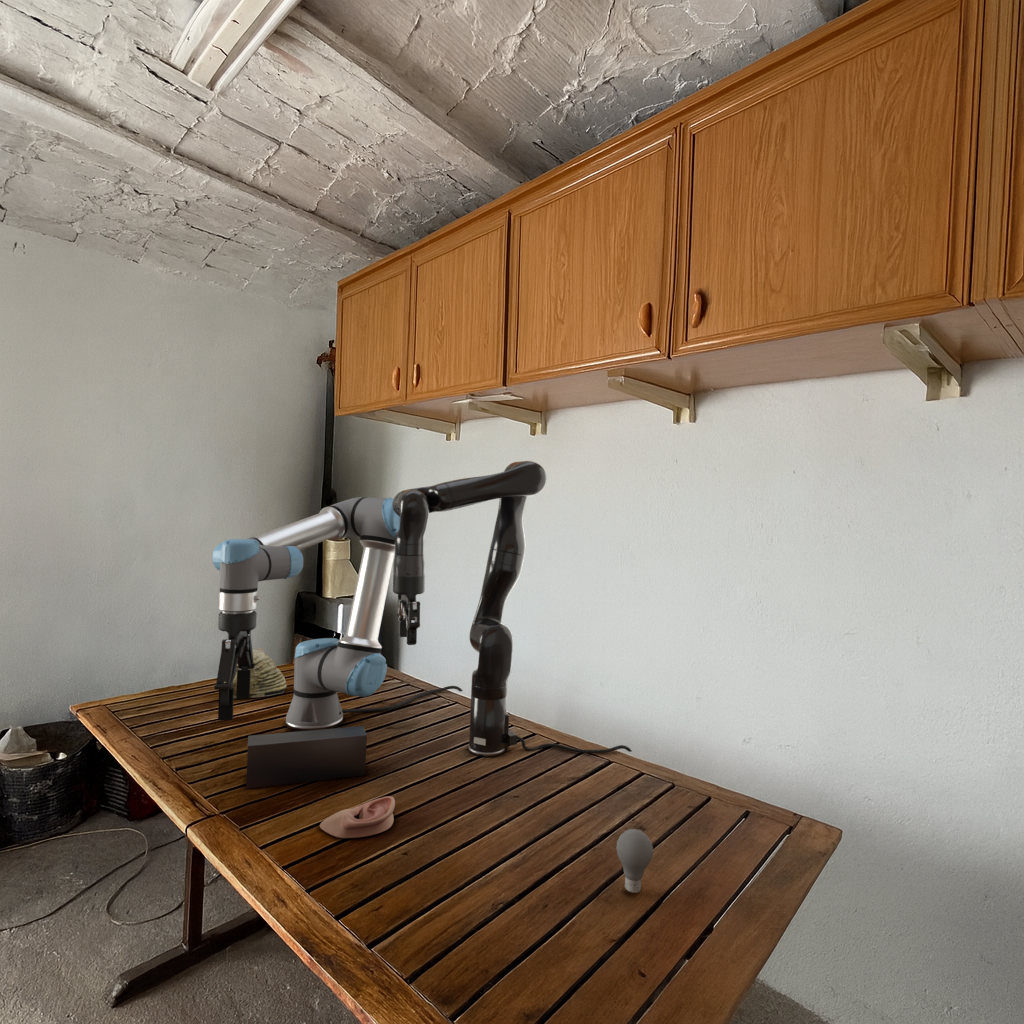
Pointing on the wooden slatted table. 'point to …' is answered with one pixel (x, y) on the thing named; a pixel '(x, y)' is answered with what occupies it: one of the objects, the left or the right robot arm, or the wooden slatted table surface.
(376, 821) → the anatomical model
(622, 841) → the light bulb
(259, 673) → the fossil
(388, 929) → the wooden slatted table surface
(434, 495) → the right robot arm
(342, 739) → the box
